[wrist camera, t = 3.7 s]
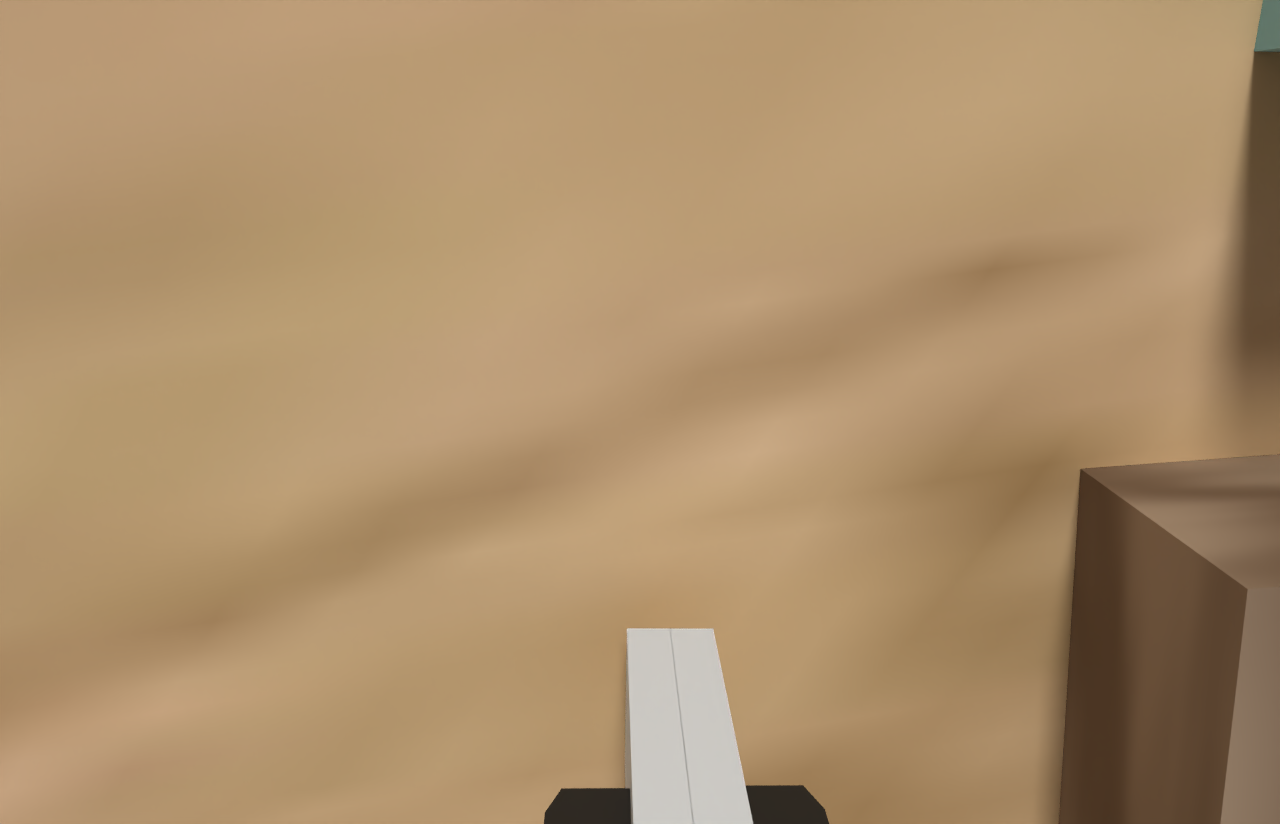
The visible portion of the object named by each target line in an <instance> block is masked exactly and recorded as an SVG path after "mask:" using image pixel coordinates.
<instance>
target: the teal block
mask: <svg viewBox="0 0 1280 824" xmlns="http://www.w3.org/2000/svg"><path fill="white" fill-rule="evenodd" d="M1254 51H1258V52H1280V0H1263V4H1262V9H1261V15H1260V21H1259V26H1258V32H1257V37H1256V43H1255V48H1254Z"/></svg>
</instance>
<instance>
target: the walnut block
mask: <svg viewBox="0 0 1280 824" xmlns="http://www.w3.org/2000/svg"><path fill="white" fill-rule="evenodd" d="M1059 824H1280V454H1277V455H1263V456H1250V457H1236V458H1222V459H1209V460H1195V461H1181V462H1167V463H1154V464H1140V465H1126V466H1112V467H1099V468H1085V469H1081V472H1080V488H1079V505H1078V521H1077V537H1076V553H1075V570H1074V586H1073V602H1072V619H1071V635H1070V651H1069V668H1068V684H1067V700H1066V716H1065V733H1064V749H1063V765H1062V782H1061V798H1060V814H1059Z"/></svg>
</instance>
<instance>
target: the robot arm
mask: <svg viewBox="0 0 1280 824" xmlns="http://www.w3.org/2000/svg"><path fill="white" fill-rule="evenodd" d="M544 824H829V822H828V819H827V815H826V812H825V809H824V808H823V807H822V806H821V805H820V804H819V802H818V801H817V800H816V799H815V798H814V797H813V796H812V795H811V794H810V793H809V792H808V790H807V789H806V788H805V787H804V786H803V785H798V786H745V781H744V776H743V771H742V767H741V762H740V757H739V752H738V747H737V742H736V737H735V733H734V728H733V723H732V718H731V713H730V708H729V703H728V699H727V694H726V689H725V684H724V679H723V674H722V669H721V665H720V660H719V655H718V650H717V645H716V640H715V636H714V631H713V629H640V628H627V658H626V719H625V788H585V789H561V790H560V792H559V793H558V795H557V796H556V798H555V799H554V800H553V802H552V803H551V805H550V806H549V808H548V809H547V810H546V812H545V819H544Z"/></svg>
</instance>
